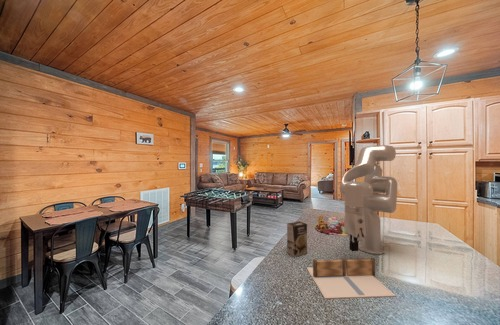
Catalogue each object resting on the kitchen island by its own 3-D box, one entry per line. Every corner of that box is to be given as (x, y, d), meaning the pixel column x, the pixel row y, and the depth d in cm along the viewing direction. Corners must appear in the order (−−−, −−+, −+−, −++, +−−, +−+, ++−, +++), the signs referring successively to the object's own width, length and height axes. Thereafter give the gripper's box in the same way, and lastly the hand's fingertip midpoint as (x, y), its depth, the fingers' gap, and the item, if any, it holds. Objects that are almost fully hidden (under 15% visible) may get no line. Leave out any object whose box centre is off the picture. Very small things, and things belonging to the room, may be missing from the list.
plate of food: (315, 234, 131) (315, 220, 131) (314, 224, 153) (314, 212, 153) (356, 238, 123) (355, 223, 124) (348, 226, 146) (348, 214, 146)
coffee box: (294, 257, 97) (294, 226, 98) (286, 252, 103) (286, 223, 103) (307, 253, 102) (307, 223, 102) (299, 249, 107) (299, 220, 108)
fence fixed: (344, 274, 82) (344, 258, 82) (346, 276, 80) (346, 260, 80) (312, 275, 81) (312, 259, 81) (313, 277, 80) (313, 261, 80)
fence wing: (347, 276, 80) (347, 260, 80) (346, 274, 82) (345, 258, 82) (375, 275, 81) (375, 259, 81) (373, 273, 82) (373, 257, 82)
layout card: (361, 266, 88) (361, 265, 88) (395, 296, 68) (395, 295, 68) (306, 268, 87) (306, 267, 87) (325, 299, 67) (324, 297, 67)
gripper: (372, 213, 79) (373, 258, 79) (352, 206, 94) (352, 243, 94) (355, 213, 79) (355, 258, 79) (337, 206, 94) (337, 243, 93)
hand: (353, 250), depth 86 cm, fingers closed
